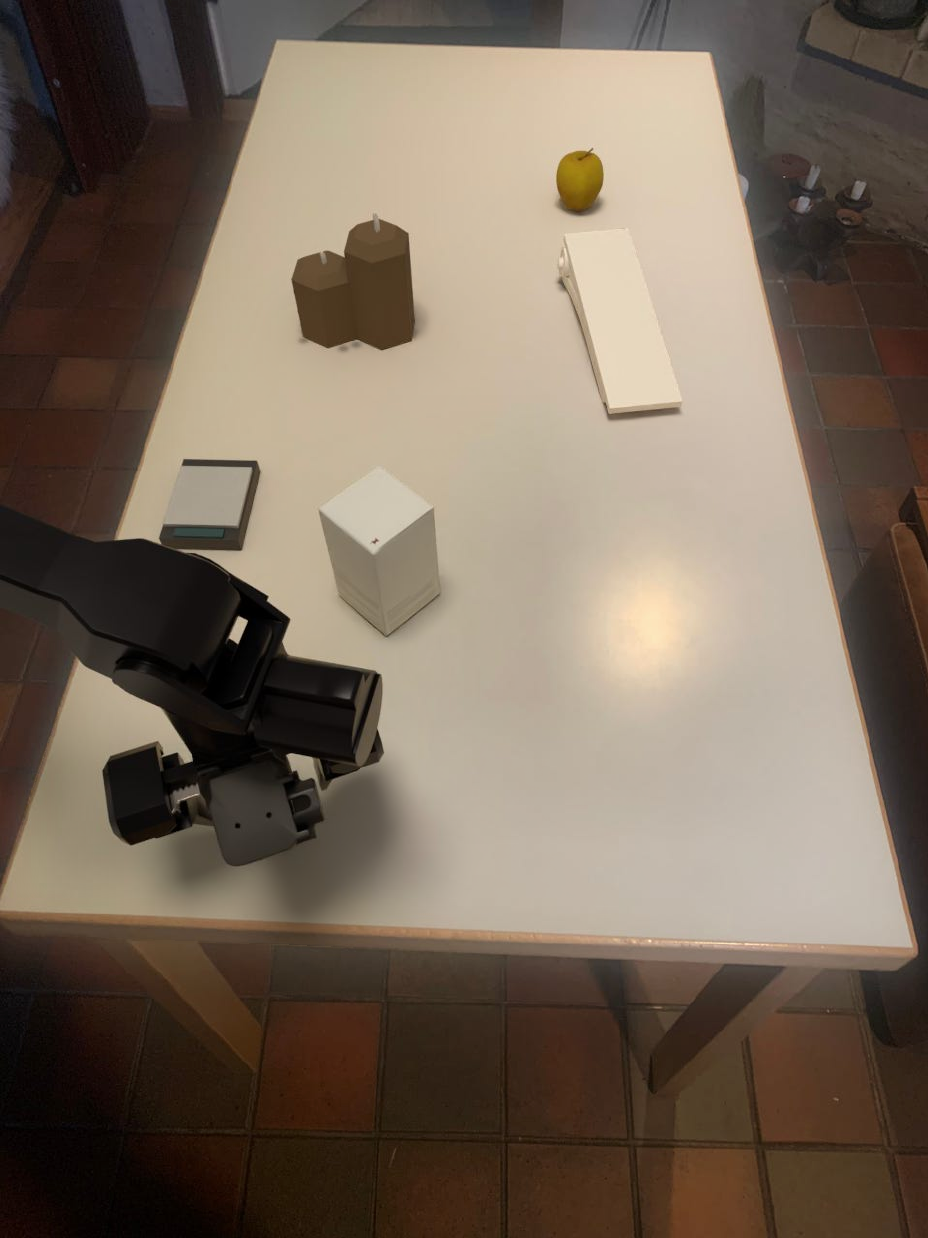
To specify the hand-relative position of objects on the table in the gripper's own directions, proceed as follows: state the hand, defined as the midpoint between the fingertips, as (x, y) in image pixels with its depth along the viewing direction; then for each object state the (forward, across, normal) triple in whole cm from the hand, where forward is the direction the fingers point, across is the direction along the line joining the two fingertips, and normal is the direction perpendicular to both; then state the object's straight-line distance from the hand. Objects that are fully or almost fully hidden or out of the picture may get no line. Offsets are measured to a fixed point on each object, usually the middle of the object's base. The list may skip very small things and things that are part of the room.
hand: (270, 802), depth 66 cm
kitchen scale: (+4, +1, +36) cm, 36 cm away
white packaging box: (+4, +15, +19) cm, 24 cm away
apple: (+4, +60, +74) cm, 95 cm away
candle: (+4, +25, +60) cm, 65 cm away
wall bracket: (+4, +53, +46) cm, 70 cm away
